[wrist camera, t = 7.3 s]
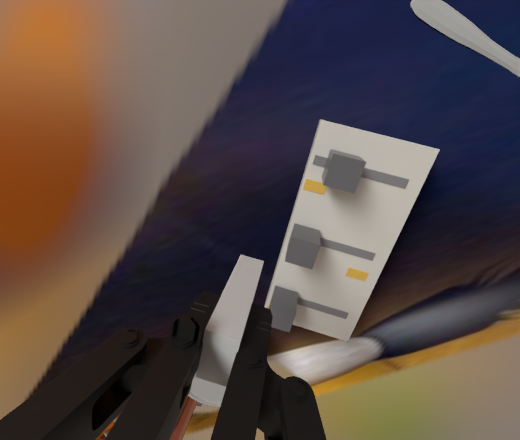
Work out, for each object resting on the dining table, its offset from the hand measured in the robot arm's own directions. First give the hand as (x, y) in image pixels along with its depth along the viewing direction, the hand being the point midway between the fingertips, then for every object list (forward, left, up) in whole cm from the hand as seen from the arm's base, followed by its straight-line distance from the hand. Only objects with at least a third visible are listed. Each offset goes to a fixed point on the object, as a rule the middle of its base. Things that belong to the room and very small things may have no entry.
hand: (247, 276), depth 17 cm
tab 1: (-4, +12, -15) cm, 20 cm away
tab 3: (-5, -6, -15) cm, 17 cm away
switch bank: (-8, +3, -20) cm, 21 cm away
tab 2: (-4, +3, -15) cm, 16 cm away
